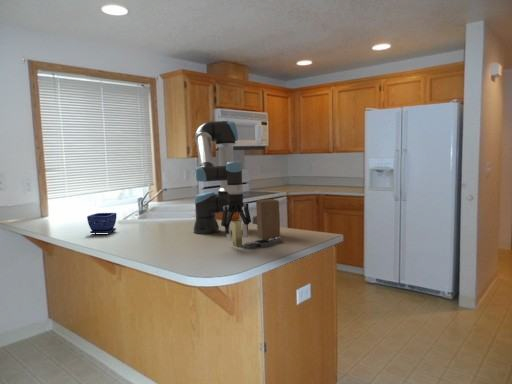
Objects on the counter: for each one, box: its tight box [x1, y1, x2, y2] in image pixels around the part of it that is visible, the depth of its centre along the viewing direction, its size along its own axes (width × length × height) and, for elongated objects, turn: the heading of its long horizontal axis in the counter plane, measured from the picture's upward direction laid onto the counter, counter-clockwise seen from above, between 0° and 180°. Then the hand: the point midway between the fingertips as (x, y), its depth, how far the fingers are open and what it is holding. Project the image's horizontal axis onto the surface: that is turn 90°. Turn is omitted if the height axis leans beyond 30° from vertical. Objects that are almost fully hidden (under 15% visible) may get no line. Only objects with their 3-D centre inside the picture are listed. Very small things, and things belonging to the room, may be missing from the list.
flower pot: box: [86, 212, 117, 234], centre depth 237 cm, size 13×13×12 cm
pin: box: [231, 220, 243, 247], centre depth 191 cm, size 3×3×12 cm
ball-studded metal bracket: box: [243, 236, 284, 250], centre depth 190 cm, size 8×21×3 cm, turn 125°
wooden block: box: [255, 198, 281, 240], centre depth 208 cm, size 10×10×20 cm
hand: (237, 238), depth 192 cm, fingers open, 9 cm apart
